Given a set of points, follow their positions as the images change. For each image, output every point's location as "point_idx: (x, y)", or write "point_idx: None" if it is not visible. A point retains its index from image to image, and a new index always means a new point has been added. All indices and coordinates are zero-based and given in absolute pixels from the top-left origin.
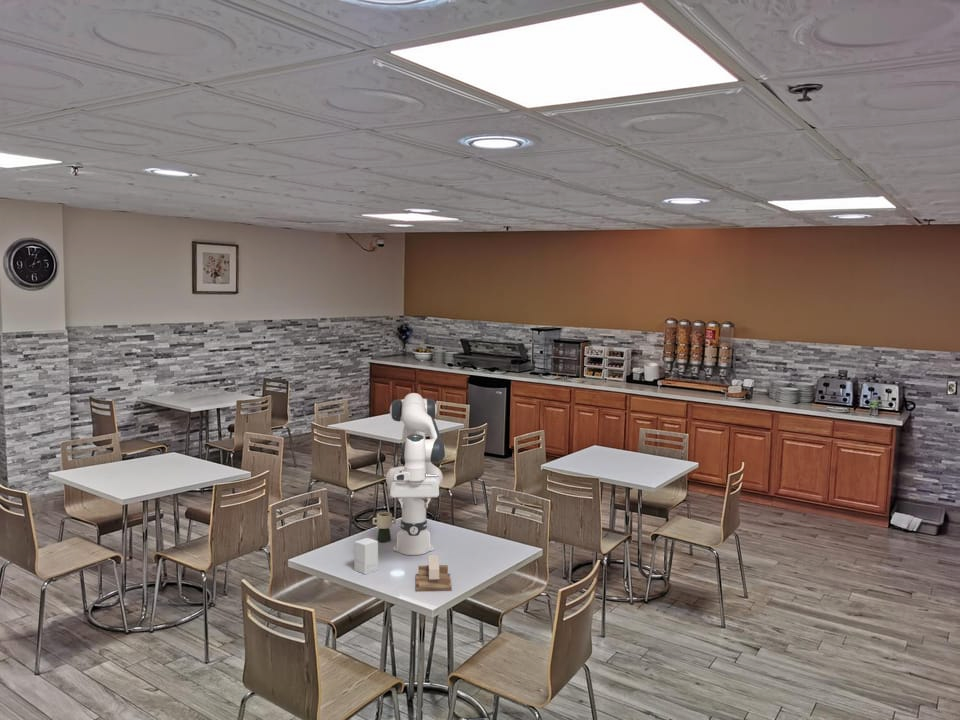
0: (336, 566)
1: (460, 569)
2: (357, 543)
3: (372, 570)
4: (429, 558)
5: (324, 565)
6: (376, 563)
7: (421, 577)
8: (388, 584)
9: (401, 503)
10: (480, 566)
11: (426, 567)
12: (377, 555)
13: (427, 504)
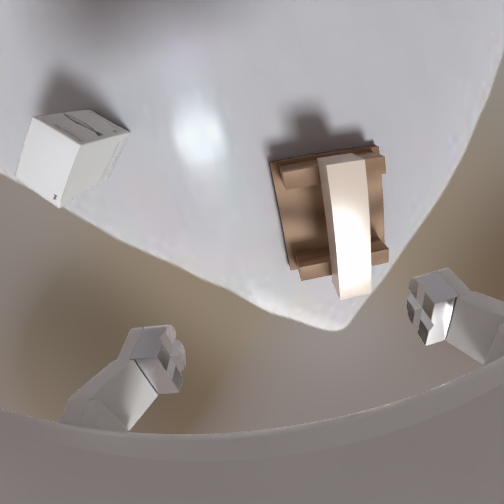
0: None
1: (399, 85)
2: (28, 185)
3: (118, 154)
4: (335, 201)
5: (5, 149)
6: (118, 140)
7: (308, 273)
8: (199, 233)
9: (143, 400)
10: (446, 66)
11: (314, 184)
12: (108, 140)
13: (453, 329)
